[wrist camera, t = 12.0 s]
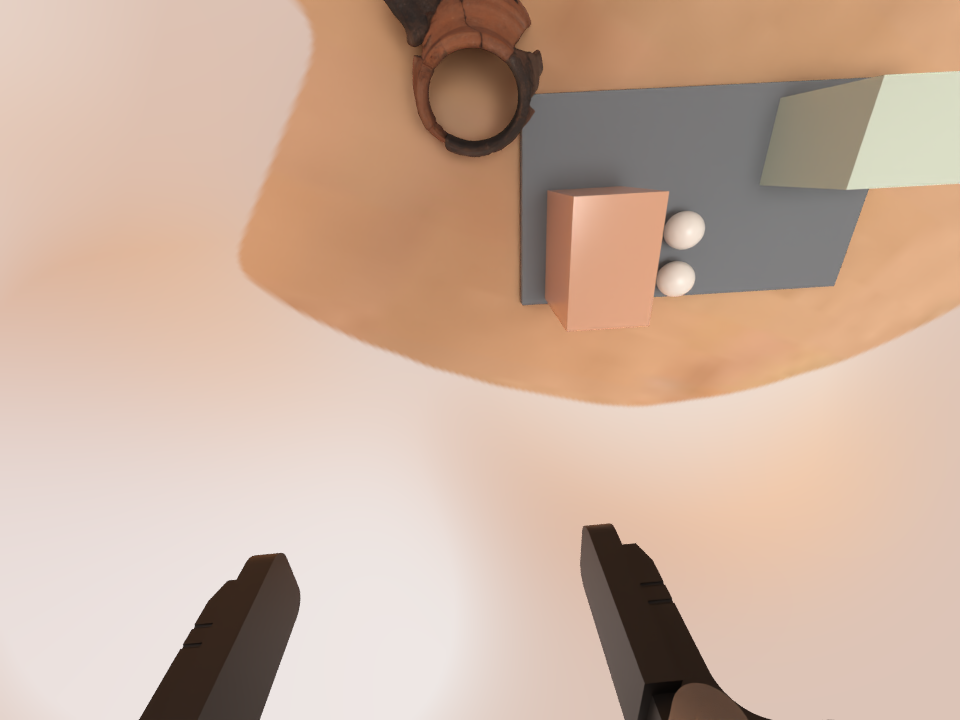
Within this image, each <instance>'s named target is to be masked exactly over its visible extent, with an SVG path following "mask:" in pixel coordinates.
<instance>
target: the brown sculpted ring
mask: <svg viewBox="0 0 960 720" xmlns="http://www.w3.org/2000/svg"><path fill="white" fill-rule="evenodd" d="M384 1H385V3H386V4H387V5H388V7H389V8H390V10H391V11H392V13H393V14H394V15H395V16H396V18H397V19H398V20H399V21H400V22H401V23H402V25H403V26H404V28H405V30H406V33H407V42H408V44H409V45H410V46H413V47H417V46H419V45H421V44H422V42H423V45H422V48H423V51H422V56H418V55H414V58H413V89H414V95H415V99H416V105H417V109H418V114H419V116H420V118H421V120H422V122H423V124H424V126H425V128H426V129H427V130H428V131H429V132H430V133H431V134H432V135H434V136H435V137H436V138H437V139H439V140H440V141H442V142H444V143H445V146H446V148H447V150H449V151H451V152H453V153H456V154H459V155H465V156H470V157H480V156H485V155H489V154H490V153H492V152H497V151H499V150H502V149H503V148H504V147H506V146H507V145H508V144H510V143H511V142H512V141H513V140H514V139H515V138H516V137H517V135H518V134H519V133H520V132H521V130H522V128H523V127H524V126H525V125H526V124H527V123H528V121H529V120H530V119H531V117H532V116H533V114H534V113H535V110H534V109H532V107H531V106H530V102H531V98H532V97H533V95H534V94H535V92H536V90H537V88H538V85H539V78H540V75H541V73H542V71H543V64H542V57H541V53H540V51H539V50H536V51H535V52H533V53H531V52H525V51H522V50H519V49H516V48H515V44H516V43H517V42H518V40H519V39H520V37H521V35H522V34H523V32H524V31H525V30H526V28H528V27H529V26H530V25H531V21H530V18H529V15H528V13H527V10H526V9H525V7H524V6H523V5H522V3H521V2H520V0H384ZM464 48H481V49H484V50H487V51H490V52H492V53H494V54H495V55H497V56H498V57H499V58H501V59H502V60H503V61H504V62H505V63H507V65H508V66H509V67H510V69H511V71H512V72H513V75H514V77H515V79H516V83H517V87H518V105H517V110H516V113H515V115H514V117H513V119H512V120H511V122H510V123H509V125H508V126H507V127H506V128H505V129H504V130H503V131H502V132H501V133H499V134H498V135H496V136H494V137H492V138H489V139H485V140H480V141H467V140H463V139H460V138H457V137H455V136H453V135H451V134H448V133H447V132H446V131H444V130H443V128H442V127H441V126H440V125H439V124H438V123H437V122H436V118H435V116H434V114H433V112H432V109H431V106H430V102H429V84H430V80H431V77H432V75H433V72H434V69H435V68H436V66H437V65H438V64H439V62H440V61H441V60H442V59H443V58H445V57H446V56H447V55H449V54H450V53H452V52H455V51H457V50H460V49H464Z"/></svg>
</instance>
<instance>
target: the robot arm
mask: <svg viewBox="0 0 960 720" xmlns="http://www.w3.org/2000/svg"><path fill="white" fill-rule="evenodd" d="M580 566H581V576H582V581H583V585H584V589H585V592H586V595H587V599H588V602H589V605H590V609H591V612H592V615H593V618H594V621H595V625H596V628H597V631H598V634H599V638H600V641H601V644H602V647H603V651H604V654H605V657H606V660H607V664H608V667H609V670H610V673H611V677H612V680H613V683H614V686H615V690H616V693H617V696H618V699H619V702H620V706H621V709H622V712H623V715H624V719H625V720H770V719H766V718H764V717H761V716H758V715H756V714H753V713H751V712H750V711H748V710H746V709H745V708H743V707H741V706H740V705H739V704H737V703H736V702H734V701H733V700H732V699H731V698H730V697H729V696H728V695H727V694H726V693H725V692H724V691H723V690H722V689H721V688H720V687H719V685H718V684H717V683H716V681H715V680H714V679H713V677H712V675H711V674H710V672H709V670H708V668H707V666H706V664H705V662H704V660H703V658H702V656H701V655H700V652H699V650H698V649H697V647H696V645H695V643H694V641H693V639H692V637H691V635H690V633H689V631H688V629H687V627H686V625H685V623H684V621H683V619H682V617H681V615H680V613H679V611H678V609H677V607H676V605H675V603H673V601H672V597H671V596H670V593H669V592H668V590H667V588H666V586H665V585H664V584H663V580H662V578H661V576H660V574H659V572H658V570H657V568H656V566H655V564H654V562H653V560H652V559H651V558H650V557H649V556H648V555H647V554H646V553H645V552H644V551H643V550H642V549H641V548H639V546H638V545H637V544H636V543H635V544H624V545H622V543H621V541H620V538H619V536H618V534H617V532H616V530H615V528H614V526H613V525H612V524H600V525H589V526H583V530H582V544H581V560H580ZM299 606H300V590H299V587H298V585H297V582H296V579H295V577H294V575H293V572H292V570H291V567H290V565H289V562H288V560H287V558H286V556H285V554H283V553H276V554H266V555H255V556H252V557H250V558H249V559H248V560H247V562H246V563H245V566H244V567H243V569H242V571H241V573H240V574H239V576H238V578H237V580H229V581H227V582H226V583H225V584H224V585H223V586H222V587H221V589H220V590H219V591H218V592H217V593H216V594H215V595H214V596H213V597H212V598H211V599H210V600H209V601H208V603H207V604H206V606H205V608H204V609H203V611H202V613H201V615H200V616H199V618H198V620H197V621H196V623H195V628H194V629H192V630H191V632H190V634H189V635H188V637H187V639H186V640H185V642H184V644H183V648H182V649H180V651H179V653H178V654H177V656H176V657H175V659H174V661H173V663H172V664H171V666H170V668H169V670H168V671H167V673H166V675H165V676H164V678H163V680H162V682H161V683H160V685H159V687H158V688H157V690H156V692H155V694H154V695H153V697H152V699H151V700H150V702H149V704H148V705H147V707H146V709H145V711H144V712H143V714H142V716H141V717H140V719H139V720H260V717H261V715H262V712H263V709H264V706H265V703H266V701H267V698H268V695H269V692H270V689H271V687H272V684H273V681H274V678H275V676H276V673H277V670H278V667H279V665H280V662H281V659H282V656H283V654H284V651H285V648H286V645H287V643H288V640H289V637H290V634H291V632H292V628H293V626H294V623H295V621H296V618H297V615H298V611H299Z"/></svg>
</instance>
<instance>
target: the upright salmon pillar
mask: <svg viewBox="0 0 960 720" xmlns="http://www.w3.org/2000/svg"><path fill="white" fill-rule="evenodd" d="M668 197H669V191H663V190H653V189H644V188H634V187H625V186H615V187H598V188H581V189H563V190H547V230H546V273H545V300H546V301H547V303H548V304H549V306H550V307H551V309H552V310H553V312H554V313H555V315H556V316H557V318H558V319H559V321H560V322H561V324H562V325H563V327H564V328H565V330H566V331H567V332H569V331H584V330H599V329H614V328H630V327H645V326H649V324H650V317H651V310H652V304H653V297H654V290H655V284H656V277H657V270H658V264H659V257H660V250H661V244H662V237H663V230H664V224H665V217H666V210H667V203H668Z"/></svg>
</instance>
